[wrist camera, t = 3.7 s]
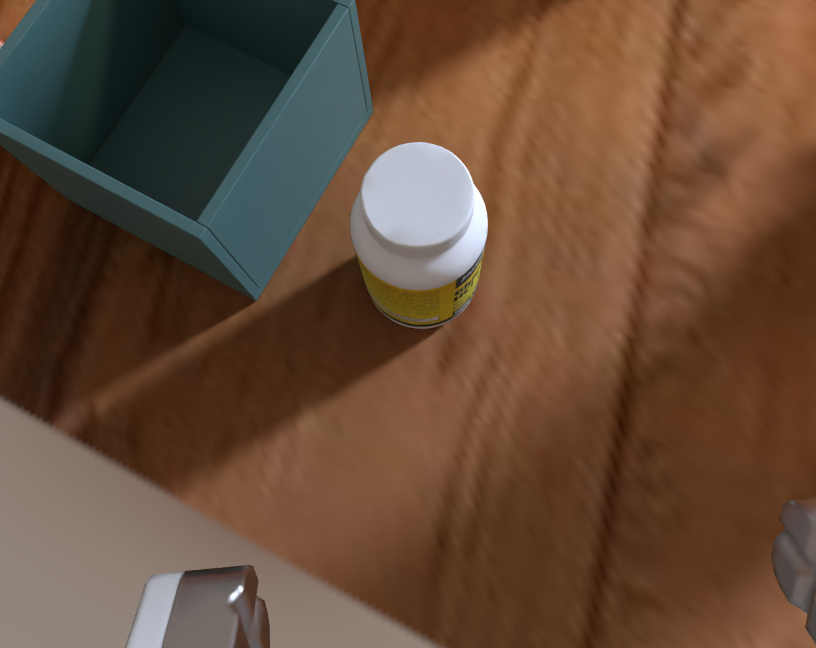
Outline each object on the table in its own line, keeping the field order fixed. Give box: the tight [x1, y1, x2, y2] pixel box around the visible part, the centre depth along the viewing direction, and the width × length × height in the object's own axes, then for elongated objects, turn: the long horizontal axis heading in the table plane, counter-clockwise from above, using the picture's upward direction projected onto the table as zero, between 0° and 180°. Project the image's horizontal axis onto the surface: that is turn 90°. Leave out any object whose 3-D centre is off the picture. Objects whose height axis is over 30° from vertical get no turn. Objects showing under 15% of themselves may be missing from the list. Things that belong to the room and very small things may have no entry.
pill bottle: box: [350, 142, 488, 329], centre depth 34 cm, size 6×6×11 cm
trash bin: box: [0, 0, 373, 301], centre depth 37 cm, size 13×13×10 cm
